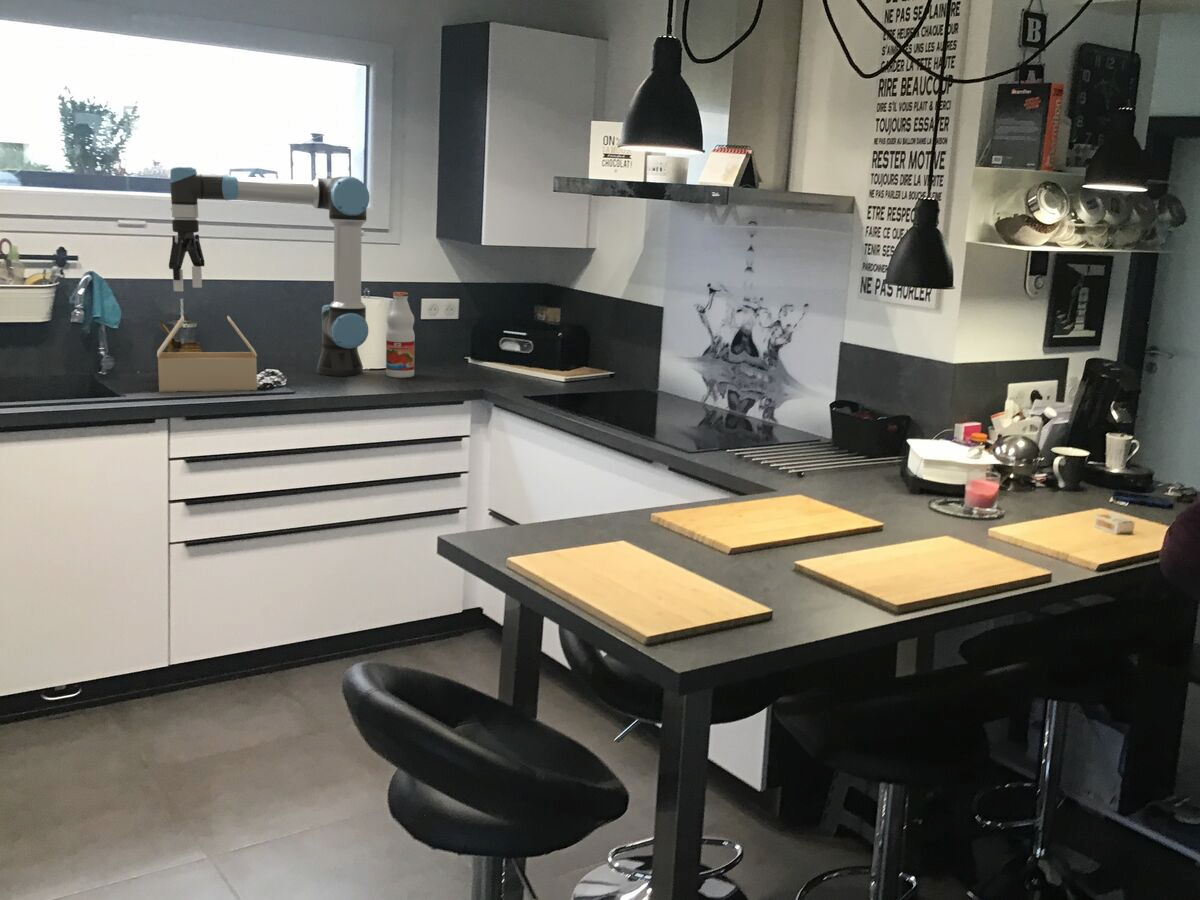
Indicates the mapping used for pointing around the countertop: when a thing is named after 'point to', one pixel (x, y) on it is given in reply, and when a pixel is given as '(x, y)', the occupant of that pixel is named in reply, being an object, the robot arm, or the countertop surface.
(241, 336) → the flap
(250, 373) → the carton
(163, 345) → the flap
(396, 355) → the fruit juice
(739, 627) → the countertop surface
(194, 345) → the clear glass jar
